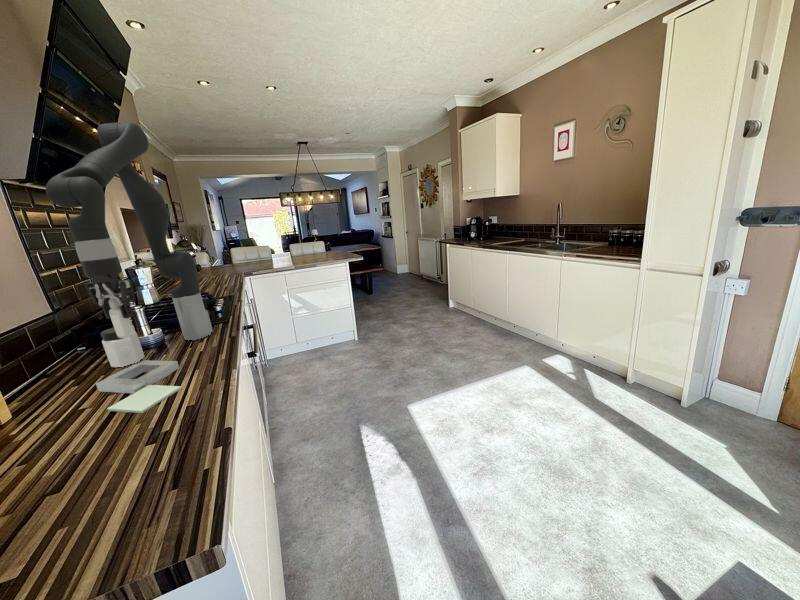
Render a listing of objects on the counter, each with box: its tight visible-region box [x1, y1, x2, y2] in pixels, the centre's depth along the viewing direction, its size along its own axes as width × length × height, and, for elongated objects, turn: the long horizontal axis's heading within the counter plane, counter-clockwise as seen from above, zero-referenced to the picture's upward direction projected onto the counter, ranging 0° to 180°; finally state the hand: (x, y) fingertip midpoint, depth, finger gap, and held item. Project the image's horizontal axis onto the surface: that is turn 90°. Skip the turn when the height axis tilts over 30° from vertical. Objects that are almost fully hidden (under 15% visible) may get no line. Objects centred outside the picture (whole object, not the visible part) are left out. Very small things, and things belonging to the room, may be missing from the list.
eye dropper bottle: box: [108, 297, 136, 338], centre depth 89 cm, size 4×6×12 cm
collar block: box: [95, 359, 180, 394], centre depth 94 cm, size 14×14×2 cm
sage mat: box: [106, 384, 182, 414], centre depth 83 cm, size 11×11×1 cm
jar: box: [100, 326, 146, 368], centre depth 107 cm, size 9×8×12 cm
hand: (119, 317), depth 90 cm, fingers closed on eye dropper bottle, 5 cm apart
